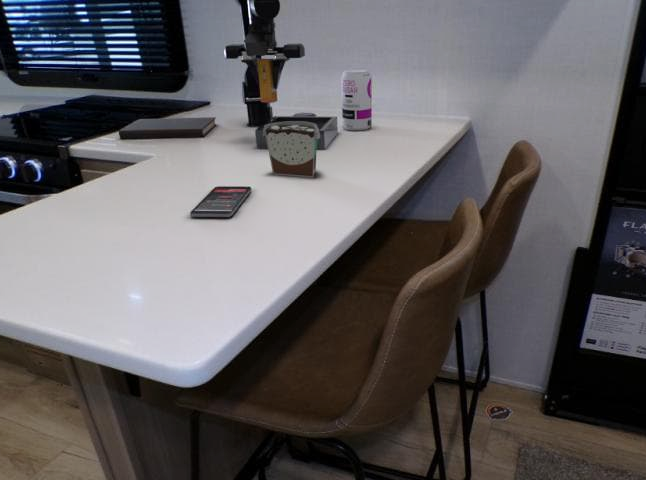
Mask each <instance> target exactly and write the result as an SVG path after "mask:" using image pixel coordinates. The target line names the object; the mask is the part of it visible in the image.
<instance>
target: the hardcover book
mask: <svg viewBox="0 0 646 480" xmlns="http://www.w3.org/2000/svg"><path fill="white" fill-rule="evenodd" d="M216 119H217V118H216V117H213V116H209V117H174V118H173V117H169V118H139V119H137V120H134V121H132V122H131V123H129V124H128V125H126V126H124V127H122V128H121V129H119V130H118V136H119V138H120V140H135V139H136V140H137V139H174V138H177V139H178V138H179V139H181V138H205V136H207V135H208V134H209V133H210V132H211V131H212V130H213V129H214V128H215V127H216V126H218V125H217V123H216Z"/></svg>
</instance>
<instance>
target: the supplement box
mask: <svg viewBox="0 0 646 480" xmlns="http://www.w3.org/2000/svg"><path fill="white" fill-rule="evenodd" d="M274 59H275V58H262V59H258V60H257V61H258V72H259V83H260V94H261V102H266V103H270V104H273V103H276V102H278V88H277V89H275V87H274V65H273V61H272V60H274Z"/></svg>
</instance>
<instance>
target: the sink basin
mask: <svg viewBox="0 0 646 480" xmlns="http://www.w3.org/2000/svg"><path fill="white" fill-rule="evenodd" d="M286 121H303V122H311V123H314V124H316V125H317V128H318V129H319V133H320V138H319V139H317V149H316V150H326V149H327V148H328V146H329V145H330V144H331V143H332V142H333V140H334V139H335V138H336V136H337V135H338V133H339V131H338V130H339V129H338V128H339V127H338V116H329V115H328V116H326V115H325V116H324V115H323V116H321V115H320V116H317V115H316V116H315V115H314V116H313V115H312V116H311V115H310V116H309V115H307V116H306V115H304V116H303V115H301V116H300V115H294V116H293V115H274V116H273V118H272V119H270V120H269V121H267V122H266V123H264V124H263V125H262V126H258V127H257V128H256V129H254V133H255V141H256V149H268V146H267V141H266V135H264V136H263V129H264V125H267V124H271V123H276V122H286Z"/></svg>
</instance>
